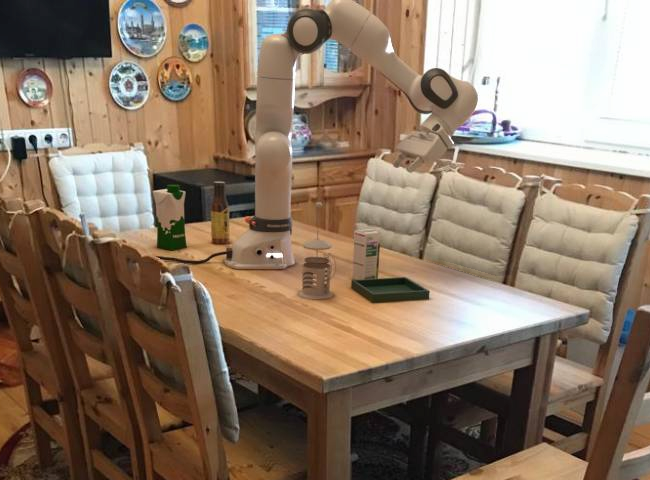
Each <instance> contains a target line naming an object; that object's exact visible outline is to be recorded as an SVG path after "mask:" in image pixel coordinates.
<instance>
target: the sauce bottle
mask: <svg viewBox="0 0 650 480" xmlns="http://www.w3.org/2000/svg"><path fill="white" fill-rule="evenodd" d="M212 183H213V184H212V185H213V198H212V199H211V202H210V229H211V233H210V234H211V242H212V243H213V244H217V245H225V244H228V243H230V237H231V236H230V235H231V234H230V205H229V202H228V200H227V196H226V181H220V180H219V181H218V180H217V181H213V182H212Z"/></svg>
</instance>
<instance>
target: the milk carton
mask: <svg viewBox="0 0 650 480" xmlns="http://www.w3.org/2000/svg"><path fill="white" fill-rule="evenodd" d="M152 194H153V195H152V197H153V199H154V203H155V215H156V230H157V231H156V233H157V234H156V248H159V249H164V250H168V251H175V250H180V249H186V248H187V247H188V246H187V237H186V226H185V224H186V223H185V222H186V221H185V199H186V194H187V193H186V191H184V190H181V188H180V184H175V183H173V184H172V183H171V184H166V188H164V189H157V190H152Z"/></svg>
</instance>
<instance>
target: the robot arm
mask: <svg viewBox="0 0 650 480" xmlns="http://www.w3.org/2000/svg"><path fill="white" fill-rule="evenodd" d="M331 40H332V41H335V42H337V43H339V44H340V45H342V46H343V47H344V48H345V49H347V50H348V51H349V52H350V53H351V54H353V55H355V56H356V57H358V58H359V59H360V60H362V61H363V62H365V63H366V64H368V65H370V66H371V67H372V68H373V69H375V70H377V72H379V73H380V74H381V75H382V76H383V77H385V79H387V80H388V81H389V82H390V83H391V84H393V85H394V86H395V87H396V88H397V89H399V90H400V92H402V93H403V95H404V96H405V97H406V98H407V100H408V102H409V104H410V105H411V107H412V109H414V111H416V112H417V113H418V114H422V115H428V117H426V119H425V120H424V121H423V122H422V123H421V124H420V126H419V129H418V130H413V131H411V132H409V133H408V134H407V135H406V136H405V137H404V138H403V139H402V140H401V141H400V142H398V144H397V146H396V148H395V149H396V151H397V152H398V153H397V155H396V158H395V160H393V162H392V163H391V164H392V166H393V167H394V168H396V169H398V168H400V166H401V165H402V162H403V161H404V160H405V159H408V160H412V161H413V162H412V163H409V164H408V165H407V166H406V167H405V169H406V171H407V173H409V174H412V173H413V172H415V170H416V169H418V168H420V167H421V166H423V164H425V165H429V166H431V165H433V164H435V163H436V162H437V161H439V159H441V157H442V156H443V155H444V154H445V153H446V152H447V150H450V149H451V148H452V147H454V144H455V143H454V141H453V139H452V137H453V136H454V134H455V132H456V131H457V130H458V129H460V128H461V127H463V125H464V124H465V123H466V122H467V121H468V120H469V119H470V118H471V117H472V115H473V114H474V112H475V111H476V110H477V108H478V106H479V102H480V100H479V95H478V92H477V90H476V88H475V87H474V86H473V84H471V83H470V82H469V81H466V80H461V79H458V78H455V77H453V76H452V75H450V74H449V73H448V72H447V71H446V70H445V69H442V68H440V67H433V68H430V69H428V70H426V72H424V73H423V74H419V73H418V72H416V71H415V70H413V68H411V67H410V66H409V65H408V64H406V62H404V61H403V60H402V59H401V58H400V57H399V56H398V55H397V54H396V52H395V51H394V48H393V45H392V39H391V34H390V30H389V29H388V27H387V26H386V25H385V23H383V21H382V20H381V19H379V18H378V17H377V16H376V15H375V14H374V13H372V12H371V11H370V10H369V9H367V8H366V7H364V6H363V5H361V4H359V3H357V2H356V1H355V0H330V1H329V2H328V4H327V5H326V6H325V8H324V9H313V8H309V7H308V8H307V7H306V8H301V9H299V10H297V11H296V12H294V13H293V14H292V15H291V17H290V18H289V20H288V22H287V25H286V29H285V31H284V32H283V33H272V34H268V35H267V36H265V37H264V38H263V40H262V41H261V44H260V48H259V54H258V61H257V73H256V76H257V77H256V103H255V104H256V107H255V132H254V133H255V137H254V163H255V164H254V169H255V171H254V174H255V175H254V176H255V177H254V183H255V184H254V188H255V190H254V216H251V217H250V216H249V215H246V216H245V217H244V221H245V223H246V224H247V225H248V227H249V228H248V229H247V230H246V231H245V232H243V233H242V234H241V235H240V236H238V237H237V238H236V239H234V240H233V242H232V245H231V247H225V249H226V250H225V251H219V252H215V253H212V254H211V255H209V256H207V258H205V259H200V260H192V259H181V258H178V257H171V256H160V255H155V256H156V257H158V258H160V259H159V260H160V261H161V260H162V261H173V262H177V263H182V264H190V265H191V264H192V265H193V264H195V265H199V264H200V265H201V264H205V263H207V262H209V261H210V260H212V259H213V258H216V257H218V256H224V255H226V256H225V257H224V258H223V263H224V264H225V265H226V266H228V267H229V268H232V269H234V270H235V269H236V270H284V269H286V268H288V267H291V266H293V265H294V264H296V262H295V257H294V253H293V246H292V232H293V217H292V216H291V212H292V211H291V209H292V206H291V205H292V180H293V179H292V177H293V153H294V152H293V146H292V137H293V121H294V111H295V110H294V109H295V94H296V93H295V91H296V90H295V89H296V69H297V62H298V59H299V57H300V56H303V55H311V54H314V53H316V52H318V51H320V49H321V48H322V47H323V46H324V44H325V43H326V42H327V41H331Z"/></svg>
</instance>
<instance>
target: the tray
mask: <svg viewBox="0 0 650 480" xmlns="http://www.w3.org/2000/svg"><path fill="white" fill-rule="evenodd" d="M350 283H351V285H350V288H351V289H352V290H353V291H355V292H356V293H357V294H358V295H360V296H361V297H363V298H365V299H366V300H367V301H369V302H370V303H372V304H377V303H390V302H391V303H393V302H407V301H408V302H409V301H421V300H430V293H431V291H430V289H427V288H426V287H424V286H422V285H420V284H419V283H417V282H416V281H413V280H412V279H410V278H408V277H407V276H398V277H381V278H378V279H362V280H355V279H351V282H350Z"/></svg>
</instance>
